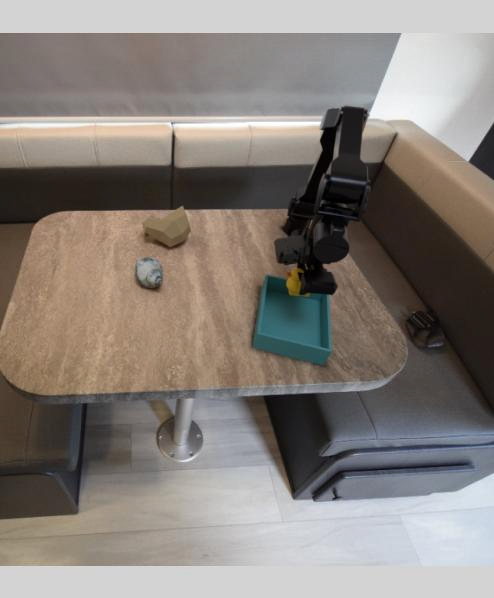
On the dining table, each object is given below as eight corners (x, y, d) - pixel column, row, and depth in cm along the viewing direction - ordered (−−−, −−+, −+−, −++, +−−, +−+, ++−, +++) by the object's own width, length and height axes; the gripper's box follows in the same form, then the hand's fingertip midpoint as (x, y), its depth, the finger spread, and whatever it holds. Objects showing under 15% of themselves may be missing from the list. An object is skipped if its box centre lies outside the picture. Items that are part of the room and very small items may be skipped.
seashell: (158, 270, 98) (155, 300, 90) (134, 260, 96) (128, 290, 88) (169, 254, 94) (166, 284, 85) (143, 243, 92) (138, 273, 83)
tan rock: (197, 237, 108) (176, 207, 109) (204, 222, 97) (180, 190, 99) (157, 262, 105) (136, 232, 107) (159, 250, 95) (135, 216, 96)
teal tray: (261, 288, 92) (265, 274, 88) (321, 301, 89) (329, 287, 85) (252, 347, 78) (257, 333, 75) (323, 365, 75) (332, 351, 72)
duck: (311, 286, 83) (321, 266, 78) (315, 298, 80) (325, 277, 75) (280, 283, 83) (287, 263, 79) (282, 295, 80) (290, 274, 76)
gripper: (276, 204, 77) (260, 259, 88) (289, 257, 64) (268, 314, 75) (328, 208, 76) (305, 263, 87) (352, 263, 63) (321, 319, 74)
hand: (299, 288), depth 81 cm, fingers closed on duck, 4 cm apart
